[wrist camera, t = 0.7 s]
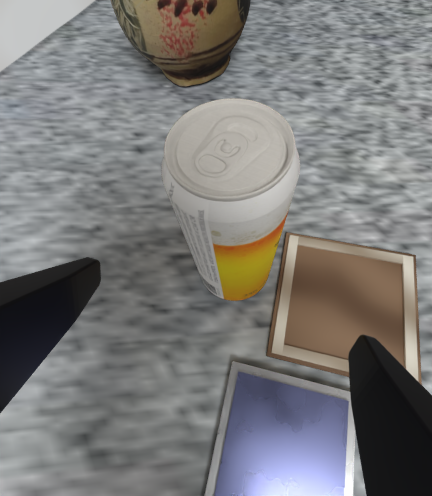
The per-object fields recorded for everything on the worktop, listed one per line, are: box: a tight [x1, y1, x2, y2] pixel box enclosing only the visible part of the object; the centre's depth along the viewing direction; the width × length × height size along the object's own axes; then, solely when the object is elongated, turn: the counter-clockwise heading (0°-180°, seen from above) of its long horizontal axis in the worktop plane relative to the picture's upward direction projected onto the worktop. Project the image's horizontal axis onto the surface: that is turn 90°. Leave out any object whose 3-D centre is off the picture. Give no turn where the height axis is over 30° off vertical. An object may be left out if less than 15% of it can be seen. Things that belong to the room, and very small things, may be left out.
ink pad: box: [205, 361, 355, 496], centre depth 19 cm, size 9×9×1 cm
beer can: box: [161, 98, 300, 301], centre depth 18 cm, size 6×6×15 cm
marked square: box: [267, 233, 421, 384], centre depth 22 cm, size 11×11×1 cm
